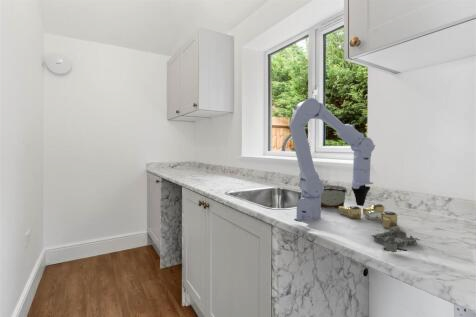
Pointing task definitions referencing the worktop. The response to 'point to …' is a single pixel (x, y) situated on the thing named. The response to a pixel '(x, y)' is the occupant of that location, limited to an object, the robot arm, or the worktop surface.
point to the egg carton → (390, 240)
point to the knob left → (350, 212)
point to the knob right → (389, 219)
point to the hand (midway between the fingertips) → (360, 205)
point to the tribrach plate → (373, 215)
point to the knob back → (374, 208)
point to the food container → (333, 196)
